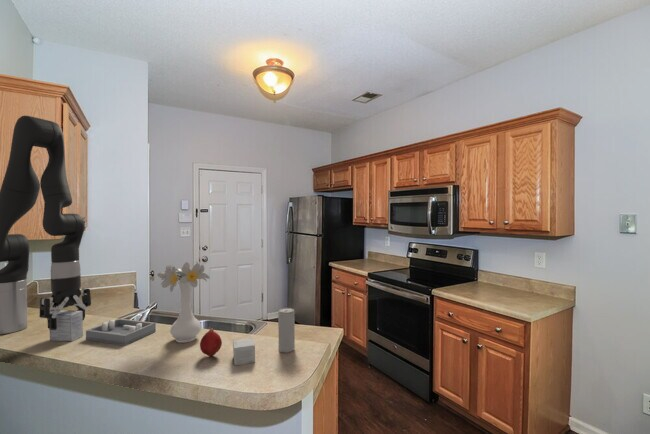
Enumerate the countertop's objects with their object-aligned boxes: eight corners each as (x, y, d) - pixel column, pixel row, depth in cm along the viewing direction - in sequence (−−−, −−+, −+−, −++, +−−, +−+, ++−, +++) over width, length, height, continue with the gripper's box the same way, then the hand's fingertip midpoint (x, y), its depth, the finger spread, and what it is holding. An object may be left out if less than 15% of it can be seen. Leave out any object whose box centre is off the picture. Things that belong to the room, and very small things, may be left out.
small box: (233, 356, 92) (233, 339, 92) (253, 354, 94) (253, 337, 94) (233, 366, 87) (233, 347, 86) (255, 362, 88) (255, 345, 88)
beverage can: (297, 347, 98) (297, 308, 98) (290, 354, 93) (290, 313, 93) (282, 345, 99) (282, 307, 99) (275, 352, 95) (275, 311, 95)
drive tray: (85, 339, 104) (85, 327, 104) (119, 326, 115) (119, 315, 115) (125, 345, 99) (125, 332, 99) (155, 331, 111) (155, 320, 111)
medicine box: (83, 336, 107) (83, 310, 106) (71, 341, 102) (71, 314, 102) (61, 335, 107) (61, 309, 107) (49, 340, 103) (48, 313, 103)
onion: (201, 362, 88) (201, 333, 88) (199, 354, 93) (198, 327, 93) (223, 358, 91) (223, 330, 91) (219, 350, 96) (219, 323, 96)
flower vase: (177, 328, 113) (176, 258, 113) (220, 336, 107) (219, 261, 106) (144, 342, 101) (144, 263, 101) (191, 352, 95) (190, 267, 94)
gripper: (79, 270, 112) (80, 317, 112) (32, 279, 98) (33, 332, 99) (95, 271, 110) (97, 318, 110) (50, 280, 96) (51, 334, 97)
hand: (67, 325), depth 104 cm, fingers open, 8 cm apart
